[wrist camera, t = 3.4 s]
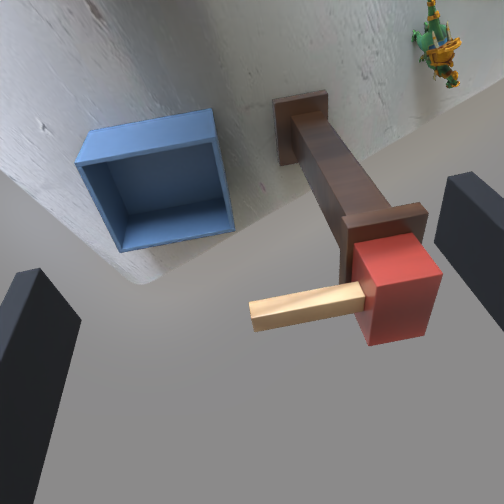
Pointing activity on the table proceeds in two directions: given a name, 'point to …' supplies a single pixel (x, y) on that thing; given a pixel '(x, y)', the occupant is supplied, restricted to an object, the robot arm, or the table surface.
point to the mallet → (367, 293)
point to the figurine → (438, 46)
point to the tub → (158, 180)
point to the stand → (338, 178)
